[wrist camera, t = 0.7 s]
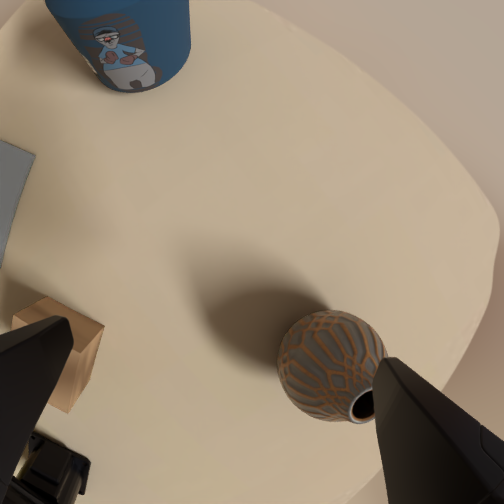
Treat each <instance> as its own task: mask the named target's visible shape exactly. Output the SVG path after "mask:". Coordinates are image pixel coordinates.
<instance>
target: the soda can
mask: <svg viewBox="0 0 504 504" xmlns="http://www.w3.org/2000/svg"><path fill="white" fill-rule="evenodd" d="M45 3H46V6H47V8H48V9H49V11H50V12H51V13H52V15H53V16H54V18H55V19H56V20H57V22H58V23H59V25H60V26H61V27H62V29H63V30H64V32H65V33H66V34H67V36H68V37H69V39H70V40H71V41H72V43H73V44H74V46H75V47H76V48H77V50H78V51H79V52H80V54H81V55H82V57H83V58H84V59H85V61H86V62H87V63H88V65H89V66H90V68H91V69H92V70H93V72H94V73H95V74H96V76H97V77H98V78H99V80H100V81H101V82H102V83H103V84H104V85H106V86H107V87H109V88H111V89H113V90H116V91H120V92H126V93H135V92H143V91H147V90H150V89H153V88H155V87H158V86H160V85H162V84H164V83H165V82H167V81H168V80H170V79H171V78H172V77H173V76H175V75H176V74H177V73H178V72H179V70H180V69H181V68H182V67H183V65H184V64H185V62H186V60H187V58H188V56H189V53H190V49H191V35H190V15H189V0H45Z"/></svg>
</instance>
